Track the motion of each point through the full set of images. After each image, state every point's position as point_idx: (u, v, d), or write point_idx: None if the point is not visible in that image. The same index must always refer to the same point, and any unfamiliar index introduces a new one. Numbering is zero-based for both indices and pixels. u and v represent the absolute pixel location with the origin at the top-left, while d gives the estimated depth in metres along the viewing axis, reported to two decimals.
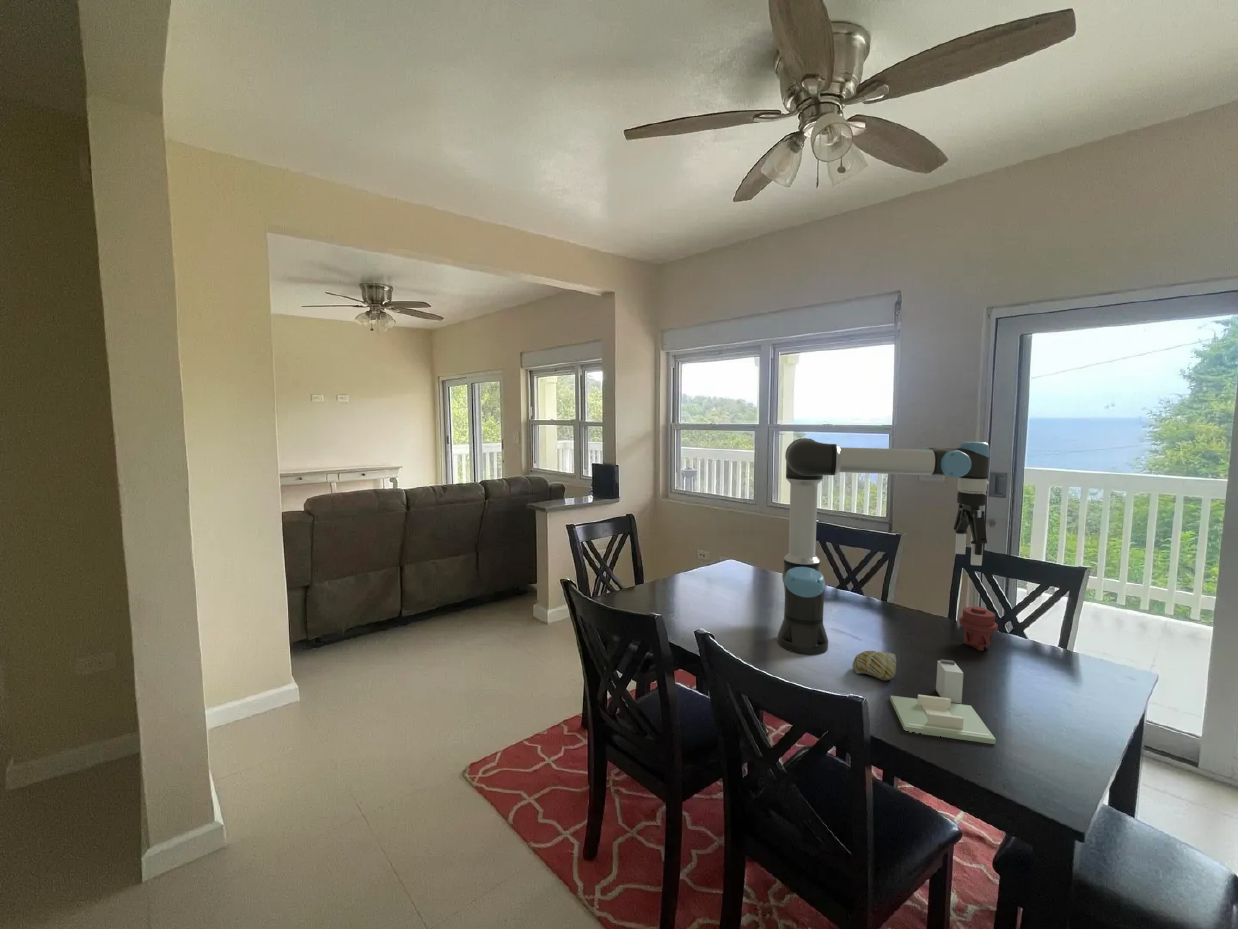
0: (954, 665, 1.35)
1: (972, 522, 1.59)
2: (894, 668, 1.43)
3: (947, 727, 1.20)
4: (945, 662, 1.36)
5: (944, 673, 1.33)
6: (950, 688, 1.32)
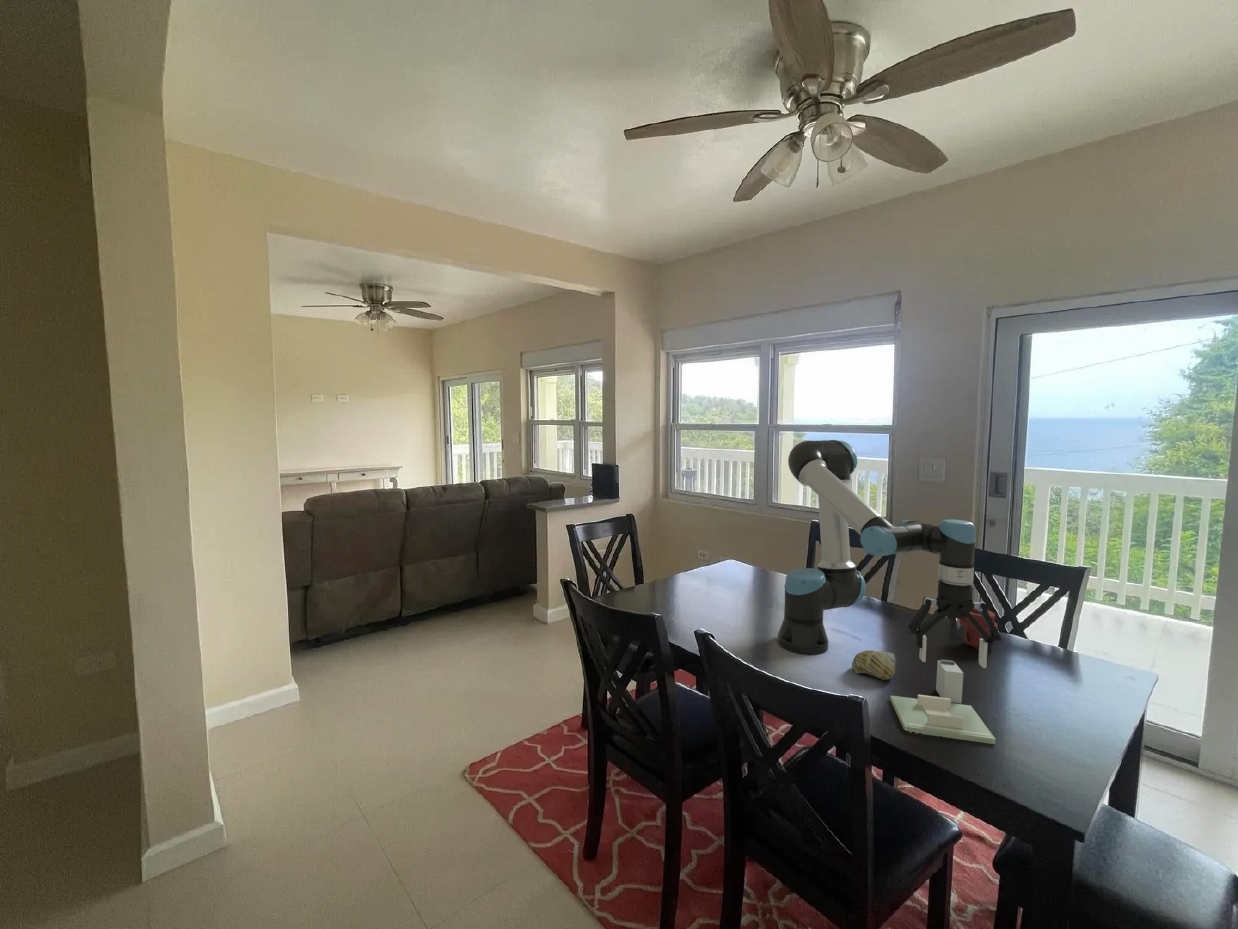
0: (954, 665, 1.35)
1: (934, 613, 1.35)
2: (893, 667, 1.43)
3: (947, 727, 1.20)
4: (945, 662, 1.36)
5: (944, 673, 1.33)
6: (950, 688, 1.32)
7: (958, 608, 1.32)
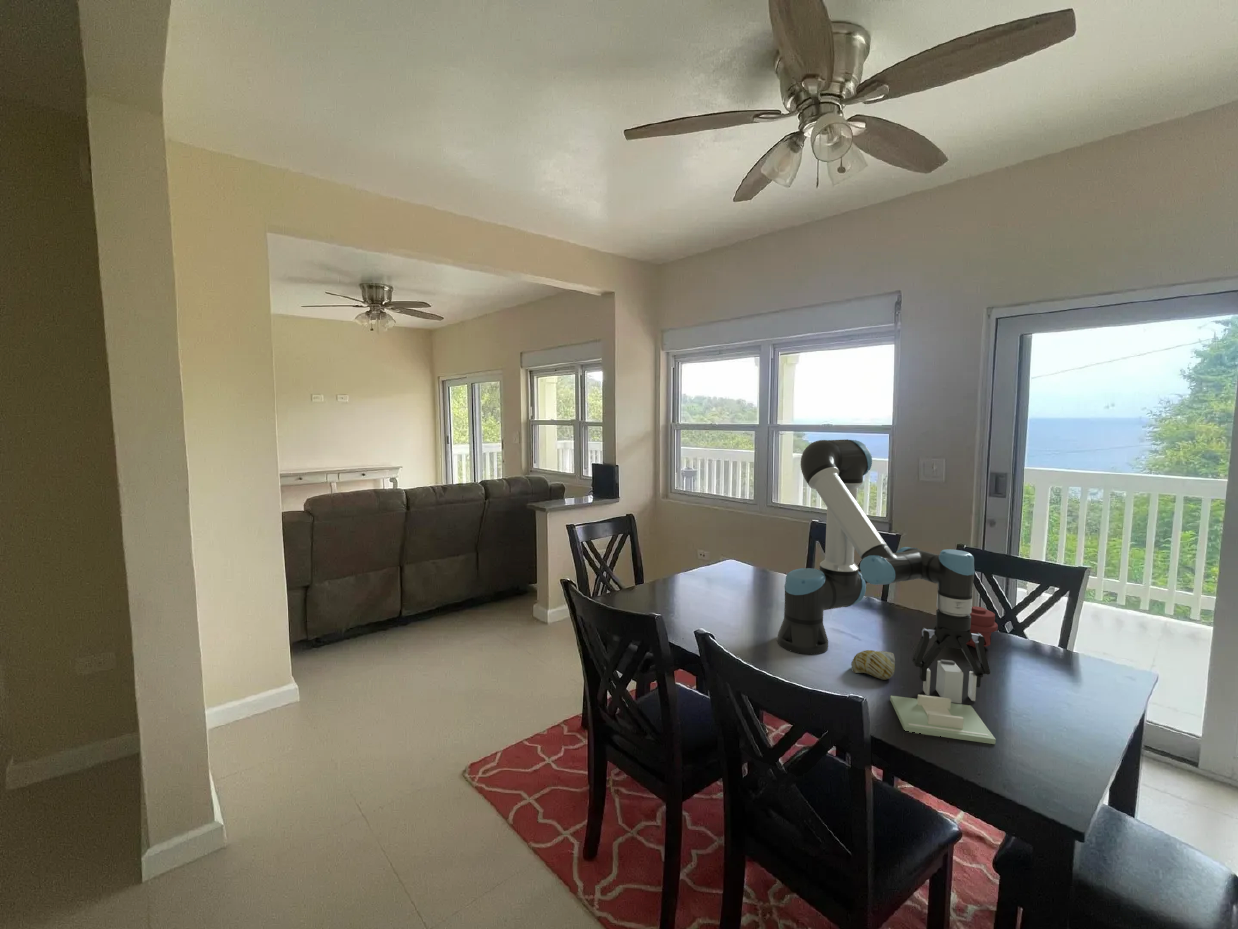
0: (954, 665, 1.35)
1: (934, 644, 1.36)
2: (893, 667, 1.43)
3: (947, 727, 1.20)
4: (945, 662, 1.36)
5: (944, 673, 1.33)
6: (950, 688, 1.32)
7: (956, 637, 1.33)
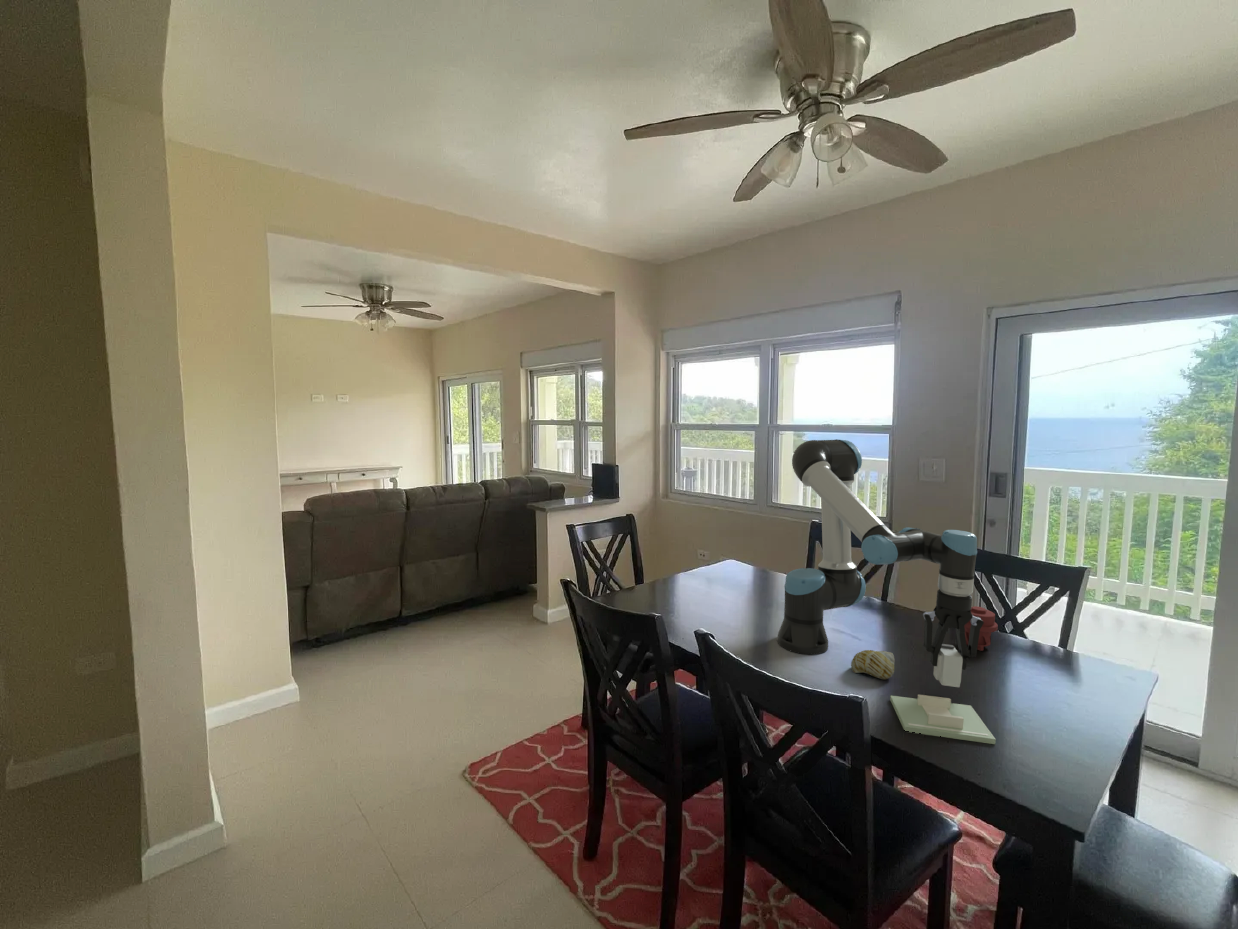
0: (953, 649, 1.35)
1: (938, 626, 1.36)
2: (892, 667, 1.43)
3: (947, 727, 1.20)
4: (944, 646, 1.36)
5: (943, 658, 1.33)
6: (948, 672, 1.33)
7: (956, 617, 1.32)
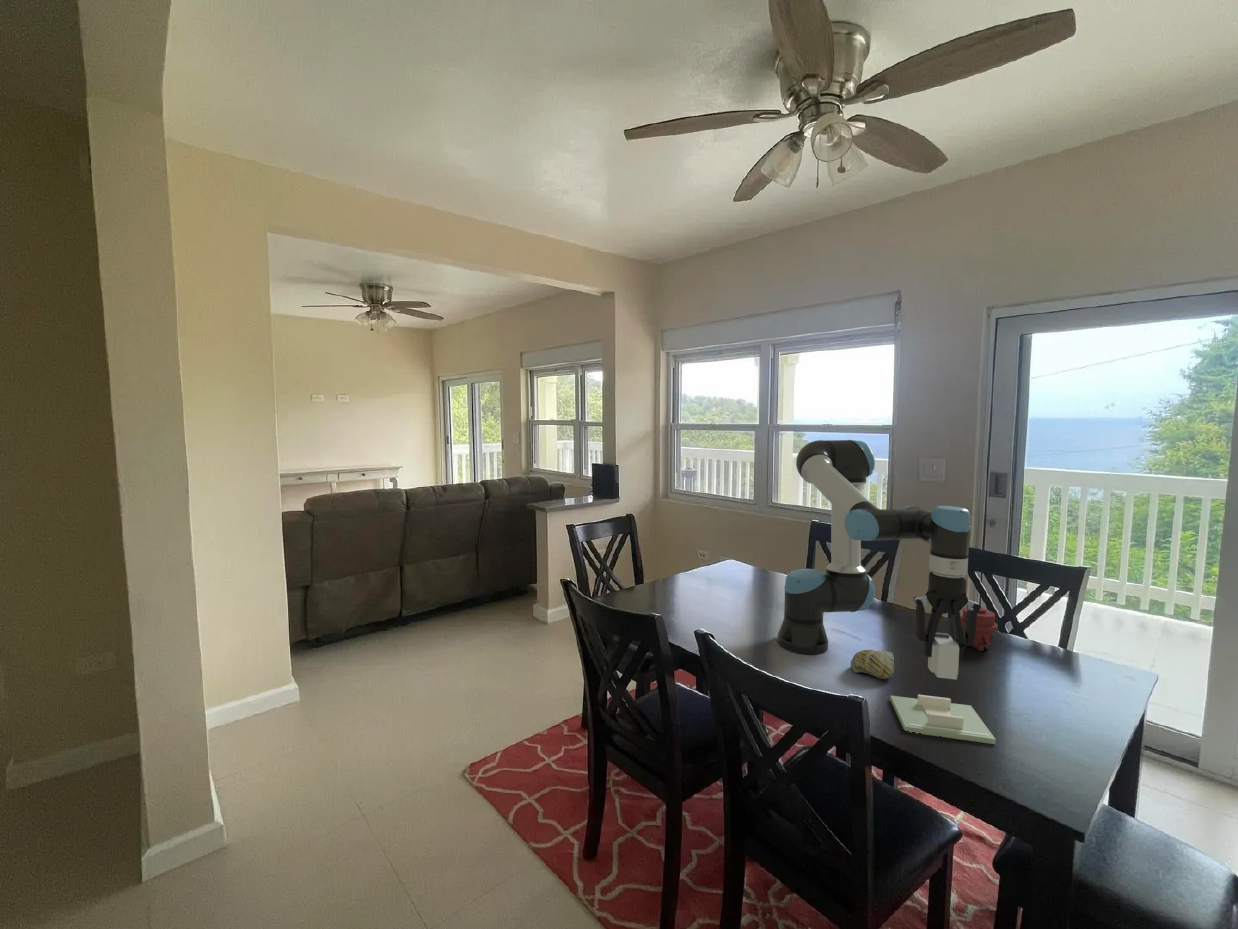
0: (949, 638, 1.23)
1: (932, 613, 1.23)
2: (892, 667, 1.43)
3: (947, 727, 1.20)
4: (939, 635, 1.24)
5: (938, 647, 1.21)
6: (944, 663, 1.20)
7: (950, 601, 1.21)
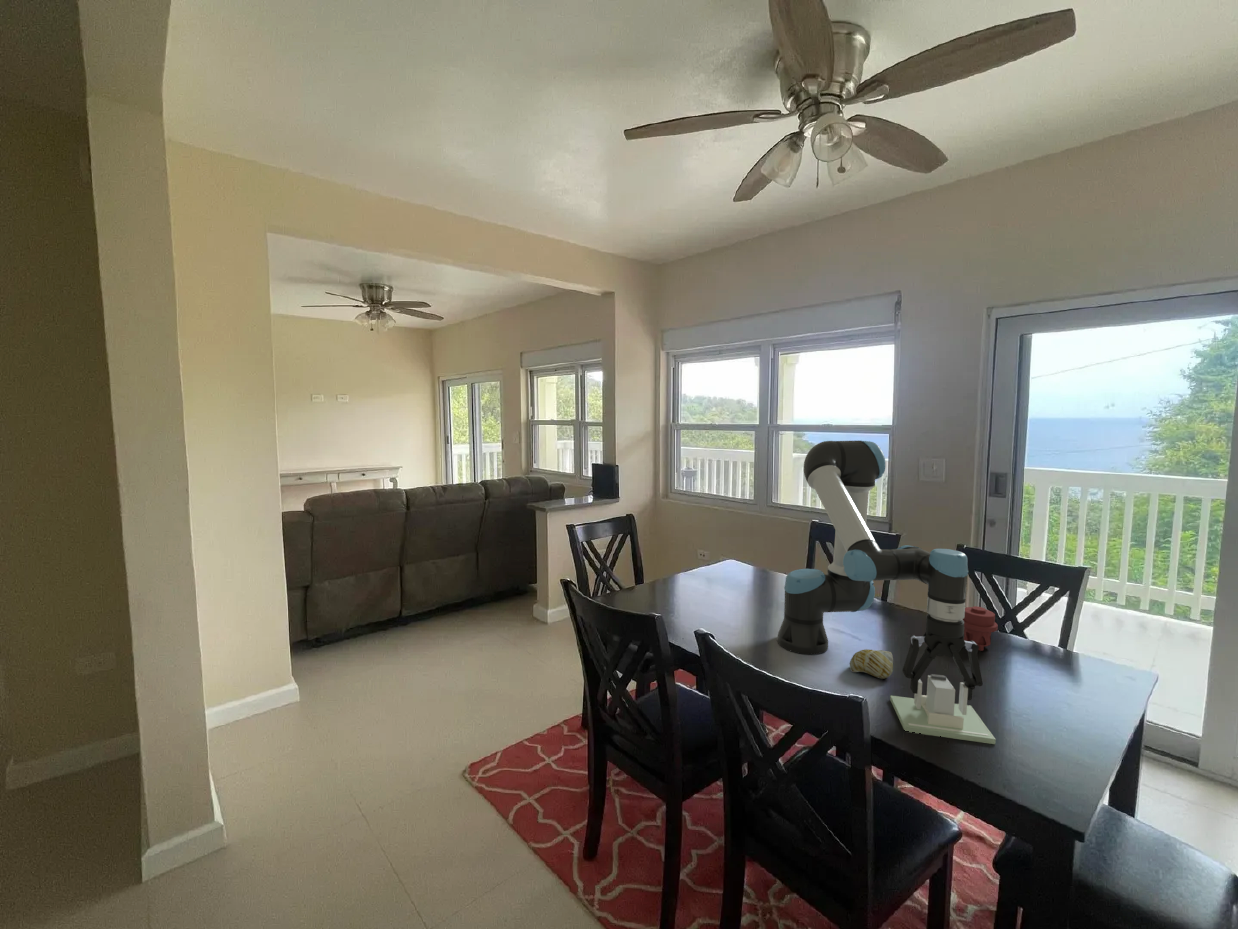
0: (945, 680, 1.24)
1: (925, 652, 1.25)
2: (891, 666, 1.44)
3: (947, 727, 1.20)
4: (936, 677, 1.25)
5: (934, 690, 1.22)
6: (940, 706, 1.21)
7: (947, 645, 1.22)
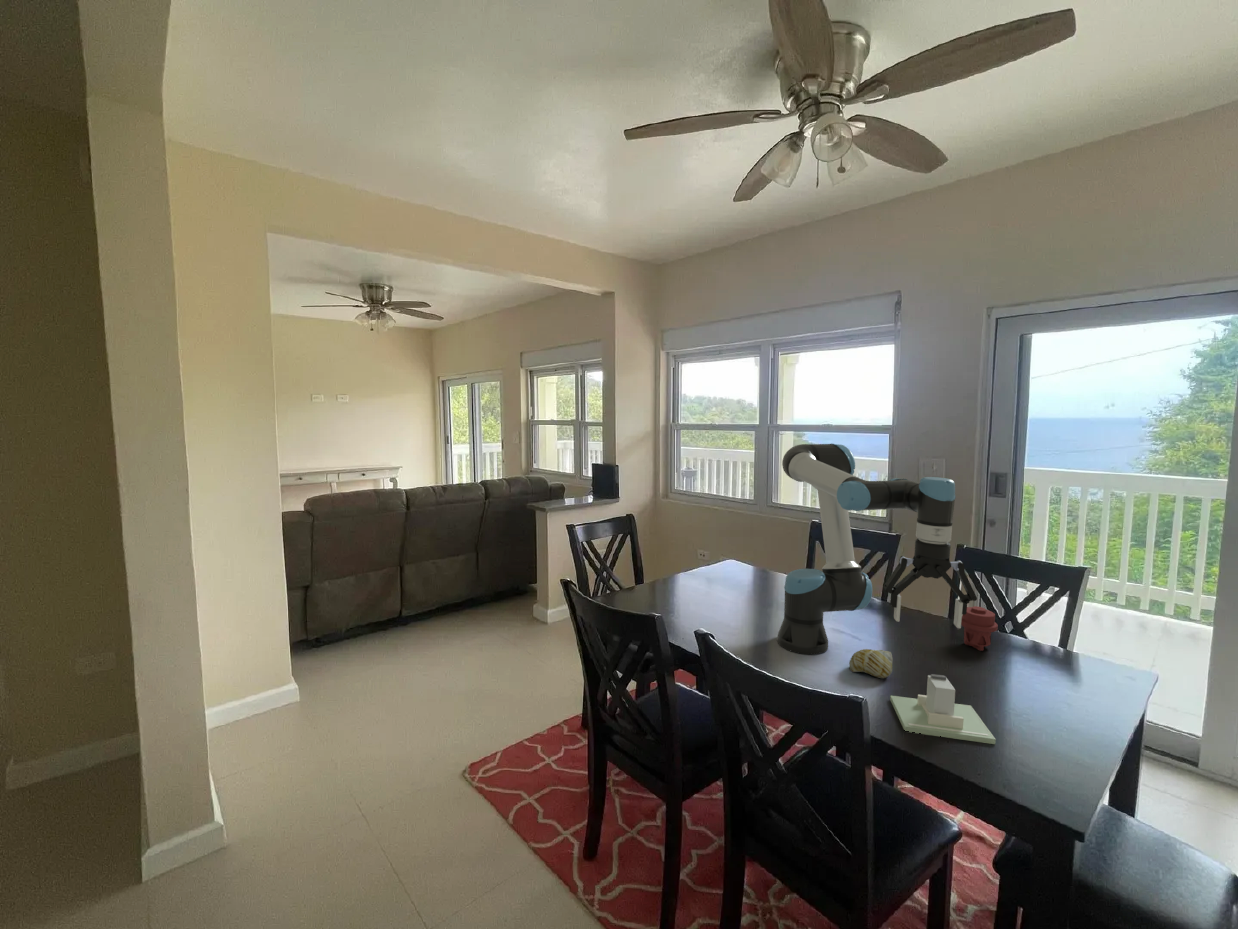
0: (945, 680, 1.24)
1: (910, 572, 1.32)
2: (891, 666, 1.44)
3: (947, 727, 1.20)
4: (936, 677, 1.25)
5: (934, 690, 1.22)
6: (940, 706, 1.21)
7: (934, 567, 1.29)
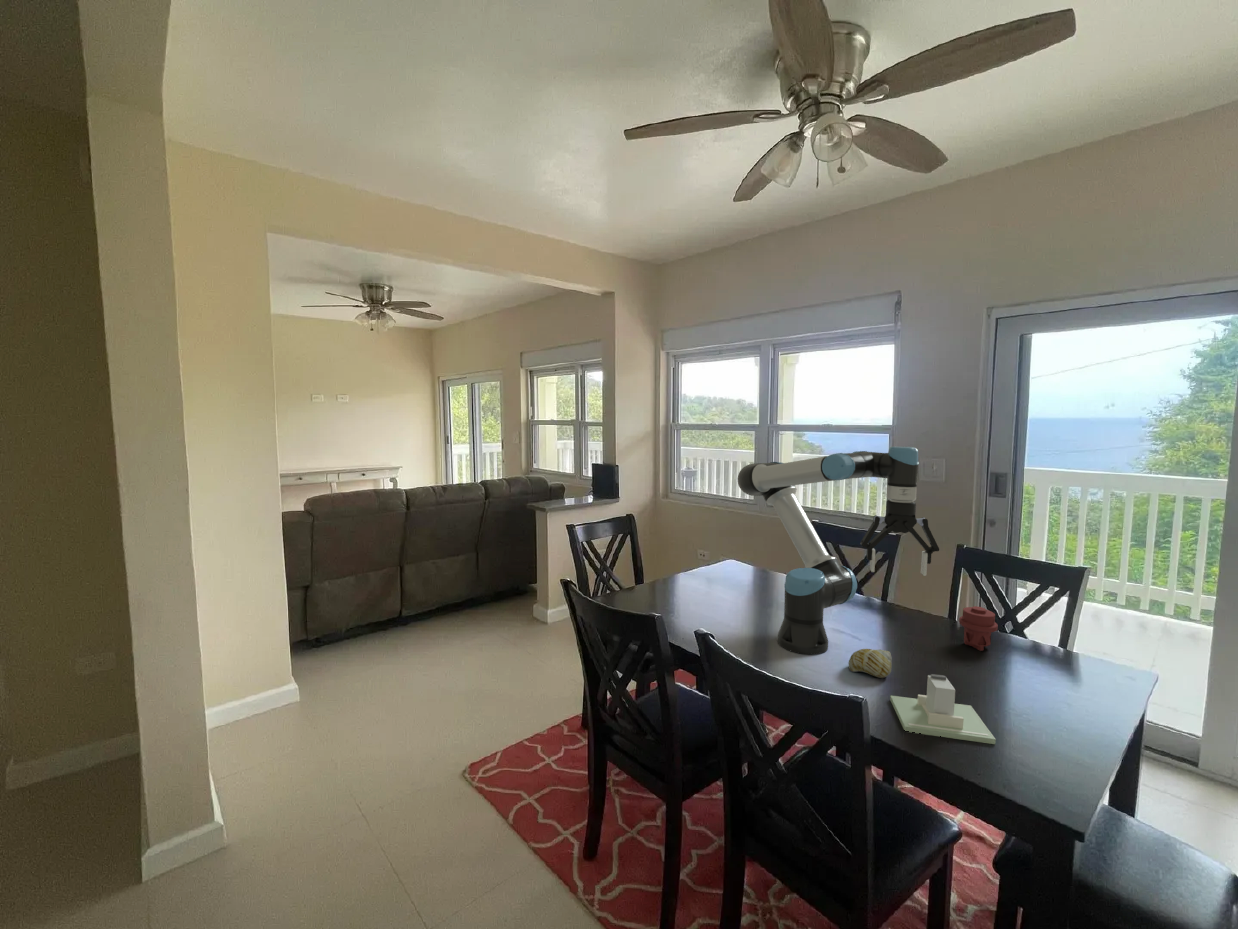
0: (945, 680, 1.24)
1: (883, 529, 1.53)
2: (890, 665, 1.44)
3: (947, 727, 1.20)
4: (936, 677, 1.25)
5: (934, 690, 1.22)
6: (940, 706, 1.21)
7: (903, 523, 1.50)
